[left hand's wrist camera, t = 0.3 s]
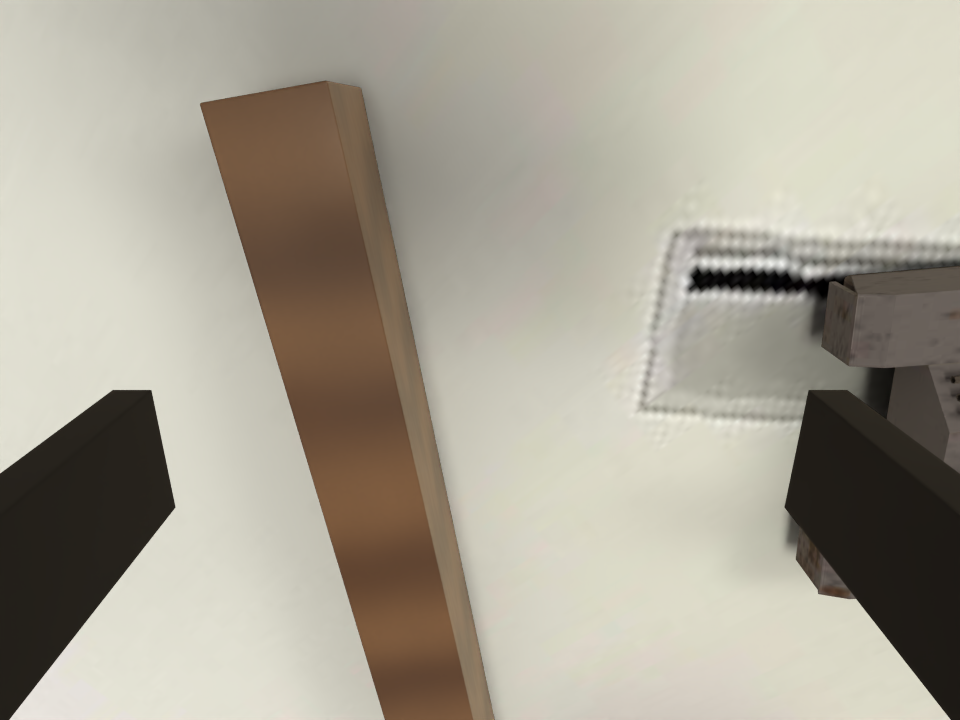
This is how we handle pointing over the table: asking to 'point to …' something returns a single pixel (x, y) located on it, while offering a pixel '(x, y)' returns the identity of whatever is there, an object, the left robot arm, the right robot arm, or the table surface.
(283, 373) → the beam
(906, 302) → the toy
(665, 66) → the table surface
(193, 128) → the table surface
